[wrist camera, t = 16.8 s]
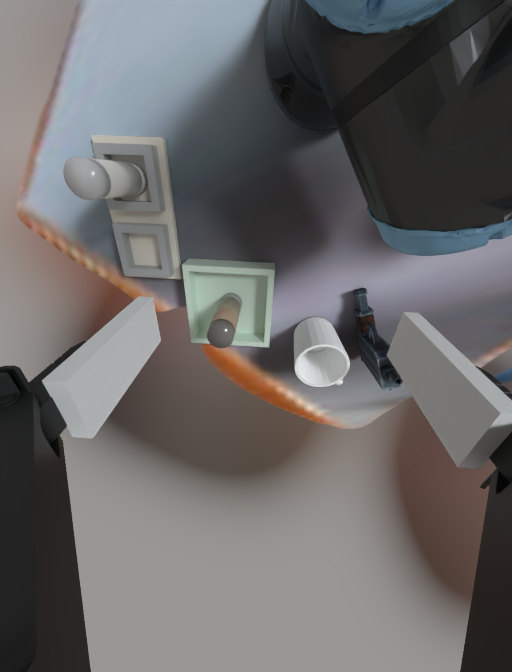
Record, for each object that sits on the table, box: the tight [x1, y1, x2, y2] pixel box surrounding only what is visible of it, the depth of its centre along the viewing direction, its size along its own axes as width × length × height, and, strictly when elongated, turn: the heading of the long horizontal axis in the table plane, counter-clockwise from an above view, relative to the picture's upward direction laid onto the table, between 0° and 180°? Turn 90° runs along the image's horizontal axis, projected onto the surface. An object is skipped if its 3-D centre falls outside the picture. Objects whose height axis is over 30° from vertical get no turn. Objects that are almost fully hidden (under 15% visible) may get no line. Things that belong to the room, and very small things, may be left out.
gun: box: [353, 288, 403, 390], centre depth 41 cm, size 3×17×15 cm
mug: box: [294, 317, 350, 387], centre depth 47 cm, size 11×9×10 cm
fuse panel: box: [91, 135, 182, 279], centre depth 40 cm, size 20×10×3 cm, turn 178°
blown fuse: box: [207, 293, 242, 348], centre depth 42 cm, size 4×4×12 cm
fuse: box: [63, 157, 148, 200], centre depth 32 cm, size 4×4×12 cm
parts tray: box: [182, 258, 275, 347], centre depth 46 cm, size 15×15×4 cm
